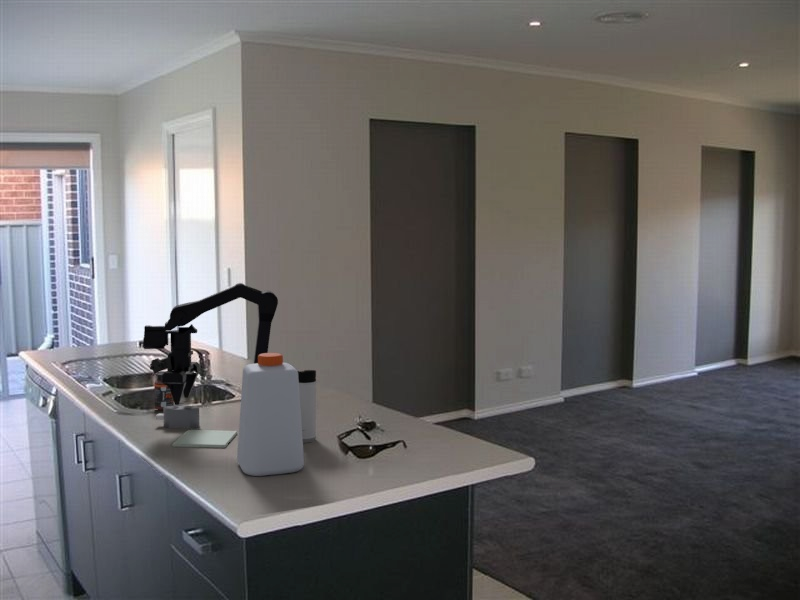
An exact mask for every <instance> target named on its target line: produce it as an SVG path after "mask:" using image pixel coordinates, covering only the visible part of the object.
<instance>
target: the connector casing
mask: <svg viewBox="0 0 800 600" xmlns="http://www.w3.org/2000/svg"><path fill="white" fill-rule="evenodd" d="M162 412H163V413H157V414H156V415H155V420H163V427H164V428H167V429H196V428H199V427H200V406H195V405H174V406H166V407H164V408H163V410H162Z"/></svg>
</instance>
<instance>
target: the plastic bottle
mask: <svg viewBox="0 0 800 600" xmlns="http://www.w3.org/2000/svg"><path fill="white" fill-rule="evenodd" d="M298 371H299V370H297V369H296V368H295V367H294V366H293V365H291V364H290V363H288V362H284V356H283V354H281V353H278V352H268V353H263V354H259V355H258V363H255V364H253V363H249V364H246V365H245V366H244V367H243V369H242V379H241V381H242V382H241V393H240V394H241V396H240V397H241V398H240V410H239V411H240V413H239V424H238V425H239V427H238V440H237V457H236V460H237V463H238V465H239V467H240V468H241V471H242V472H243V473H244V474H245V475H249V476H250V477H251V476H252V477H263V476H265V477H266V476H275V475H283V474H285V475H286V474H292V473H296V472H300V471H301V470H302V469H303V467H304V465H305V457H304V456H305V455H304V443H303V439H302V424H301V409H300V394H299V379H298Z"/></svg>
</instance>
